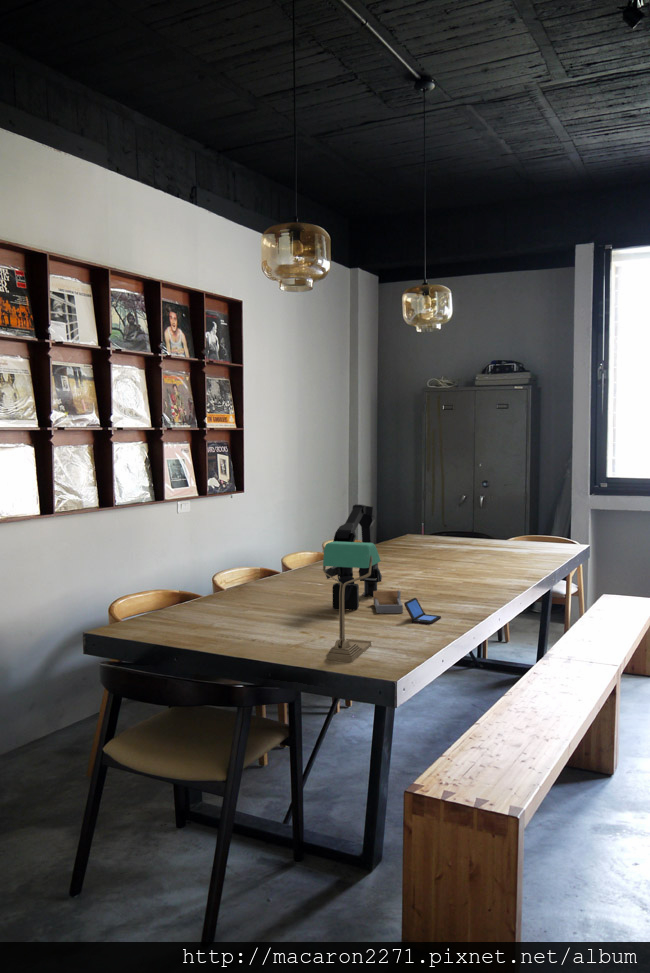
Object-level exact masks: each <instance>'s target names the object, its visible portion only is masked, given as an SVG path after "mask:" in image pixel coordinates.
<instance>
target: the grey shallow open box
mask: <svg viewBox="0 0 650 973" xmlns="http://www.w3.org/2000/svg"><path fill="white" fill-rule="evenodd" d="M403 605H404V604H403V603H402V601H400V599H399V598H396V604H381V605H379V602H378V600H377V598H375V605H374V608H375V611H376V613H377V614H403V613H404V606H403Z"/></svg>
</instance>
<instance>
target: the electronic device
mask: <svg viewBox="0 0 650 973" xmlns="http://www.w3.org/2000/svg"><path fill="white" fill-rule="evenodd" d="M331 590H332V609H333V610H335V609H339V592H340V586H339V584H338V582H335V583H333V584H332V589H331ZM359 590H360V587H359V584H358V583H354V586H353V589H352V591H351V593H350V596H349V598H348V601H345V599H344V609H349V610H348V611H357V610H358V609H359V607H360V598H359V597H360V591H359Z"/></svg>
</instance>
